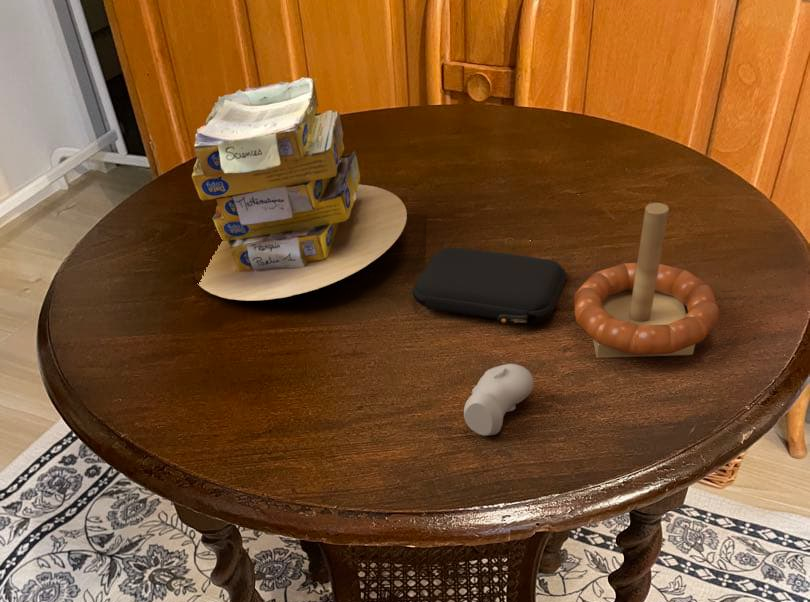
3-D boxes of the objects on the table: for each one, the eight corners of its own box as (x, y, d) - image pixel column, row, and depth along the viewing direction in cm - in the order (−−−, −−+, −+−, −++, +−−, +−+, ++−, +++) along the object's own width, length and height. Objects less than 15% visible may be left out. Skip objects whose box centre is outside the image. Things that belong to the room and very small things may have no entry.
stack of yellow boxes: (154, 301, 94) (104, 146, 81) (245, 193, 109) (215, 49, 97) (369, 326, 88) (351, 164, 75) (433, 208, 103) (426, 58, 91)
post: (676, 301, 87) (699, 181, 78) (693, 355, 81) (720, 231, 72) (586, 304, 88) (599, 185, 79) (596, 358, 82) (611, 236, 73)
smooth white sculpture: (499, 392, 81) (545, 396, 78) (451, 438, 77) (498, 444, 74) (488, 351, 79) (536, 353, 75) (438, 396, 75) (486, 401, 71)
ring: (701, 279, 87) (706, 256, 85) (725, 358, 78) (731, 334, 76) (569, 282, 88) (571, 259, 86) (578, 361, 79) (580, 337, 77)
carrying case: (403, 318, 88) (544, 340, 84) (401, 292, 86) (546, 313, 82) (437, 264, 95) (569, 282, 91) (436, 238, 93) (571, 256, 88)
